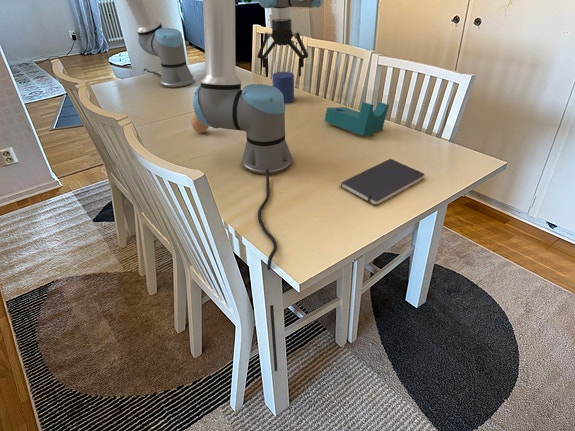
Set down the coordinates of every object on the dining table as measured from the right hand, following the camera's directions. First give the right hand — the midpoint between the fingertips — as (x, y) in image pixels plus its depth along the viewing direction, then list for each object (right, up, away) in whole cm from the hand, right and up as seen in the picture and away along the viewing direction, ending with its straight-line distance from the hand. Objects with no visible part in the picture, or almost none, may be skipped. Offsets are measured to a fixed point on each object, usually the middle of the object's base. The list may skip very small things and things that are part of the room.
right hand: (283, 75), depth 166 cm
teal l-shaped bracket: (+26, -25, -19) cm, 41 cm away
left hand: (-36, +59, +33) cm, 76 cm away
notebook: (+29, -48, -51) cm, 76 cm away
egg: (-29, -28, -20) cm, 45 cm away
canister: (0, -8, +6) cm, 10 cm away
